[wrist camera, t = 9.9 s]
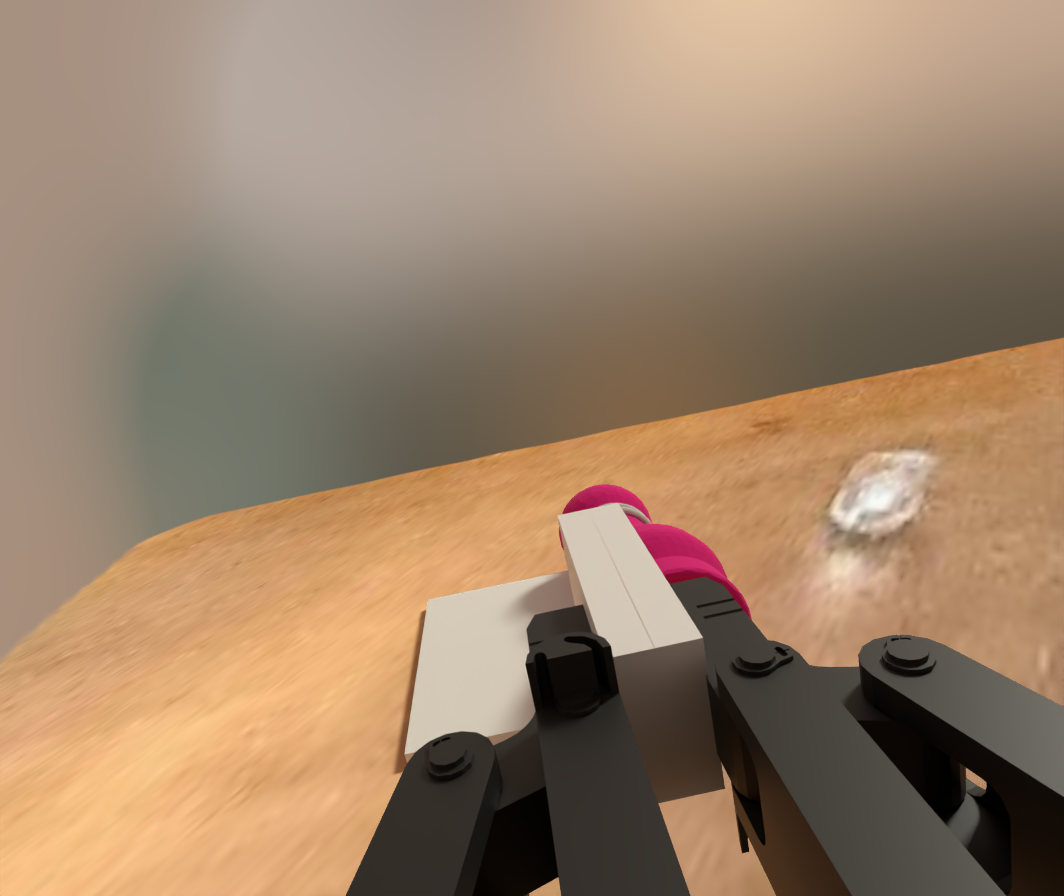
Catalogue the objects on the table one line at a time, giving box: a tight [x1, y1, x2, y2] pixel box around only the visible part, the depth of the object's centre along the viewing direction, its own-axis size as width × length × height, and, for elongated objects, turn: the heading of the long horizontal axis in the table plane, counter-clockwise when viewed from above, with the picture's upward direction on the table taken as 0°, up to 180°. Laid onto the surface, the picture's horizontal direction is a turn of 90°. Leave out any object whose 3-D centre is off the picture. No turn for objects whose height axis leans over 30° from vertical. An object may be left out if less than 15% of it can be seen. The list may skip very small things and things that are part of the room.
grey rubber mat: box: [404, 571, 575, 763], centre depth 40 cm, size 16×18×1 cm
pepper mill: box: [559, 485, 751, 619], centre depth 40 cm, size 7×7×20 cm
